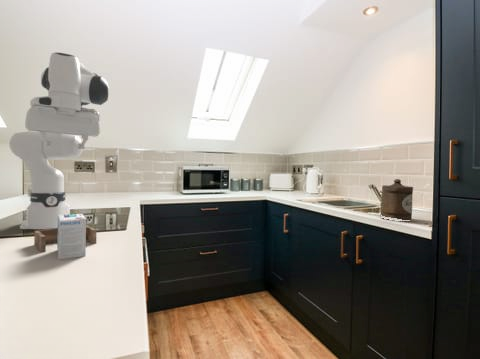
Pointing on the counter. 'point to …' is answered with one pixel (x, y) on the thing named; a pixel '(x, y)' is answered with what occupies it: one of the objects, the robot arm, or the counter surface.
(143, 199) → the counter surface
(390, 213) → the wooden container
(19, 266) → the counter surface
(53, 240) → the shelf bay
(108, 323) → the counter surface
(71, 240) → the light bulb box
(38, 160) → the robot arm
